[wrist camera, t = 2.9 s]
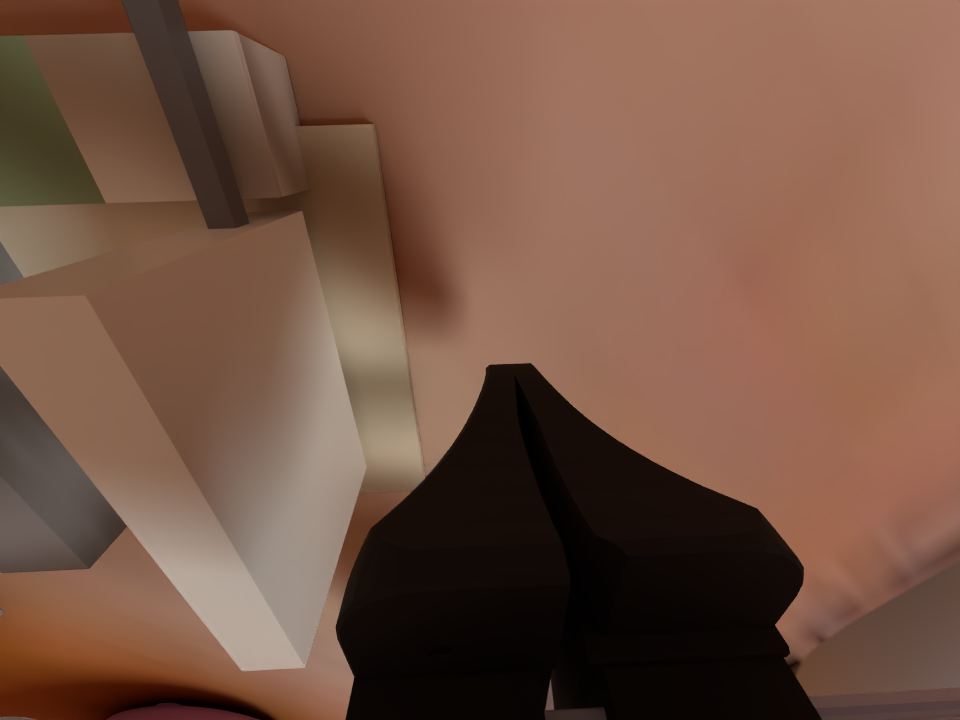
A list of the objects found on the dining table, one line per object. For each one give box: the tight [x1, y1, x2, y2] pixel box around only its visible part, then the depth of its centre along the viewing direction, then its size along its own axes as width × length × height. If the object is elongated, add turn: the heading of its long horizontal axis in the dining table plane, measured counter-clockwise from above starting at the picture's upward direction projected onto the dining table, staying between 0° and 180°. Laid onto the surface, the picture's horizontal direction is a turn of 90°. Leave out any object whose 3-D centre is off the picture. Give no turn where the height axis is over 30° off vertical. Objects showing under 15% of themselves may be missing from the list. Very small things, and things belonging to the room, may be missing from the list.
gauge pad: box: [0, 0, 367, 671], centre depth 9 cm, size 14×2×7 cm, turn 2°
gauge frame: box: [0, 30, 425, 573], centre depth 11 cm, size 16×14×4 cm
